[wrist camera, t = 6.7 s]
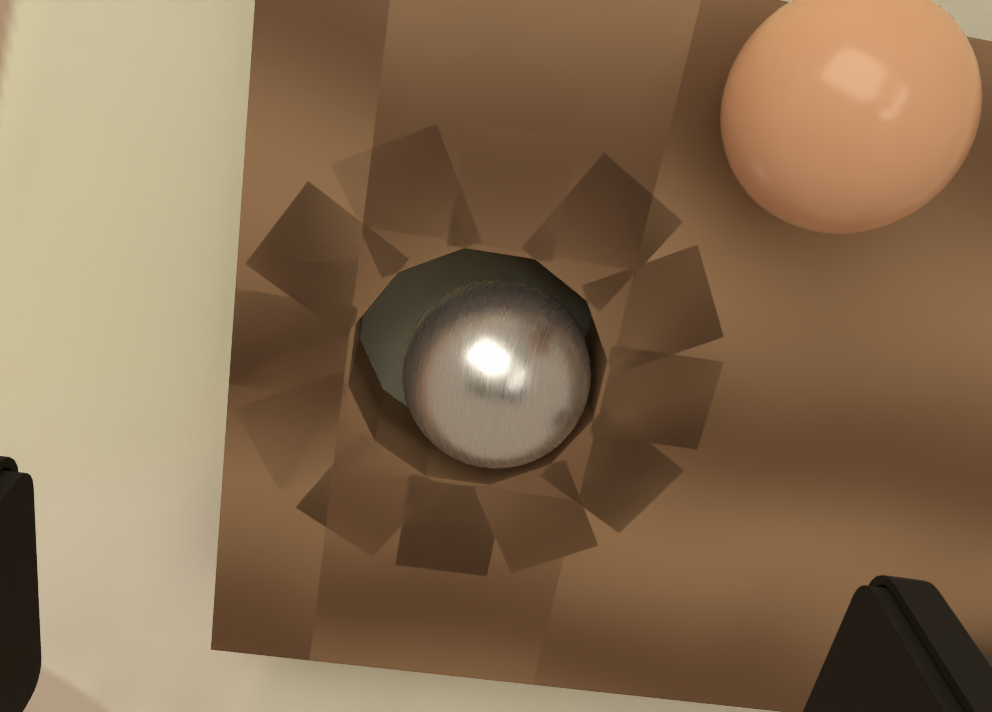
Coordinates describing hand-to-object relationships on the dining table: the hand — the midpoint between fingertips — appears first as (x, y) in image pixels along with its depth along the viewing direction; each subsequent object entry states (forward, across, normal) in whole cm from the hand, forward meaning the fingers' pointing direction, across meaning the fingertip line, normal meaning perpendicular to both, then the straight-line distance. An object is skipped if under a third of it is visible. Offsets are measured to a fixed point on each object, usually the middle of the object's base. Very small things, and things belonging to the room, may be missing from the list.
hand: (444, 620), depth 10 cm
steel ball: (+9, -1, +1) cm, 9 cm away
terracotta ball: (+7, -6, -5) cm, 11 cm away
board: (+11, -5, +1) cm, 12 cm away
